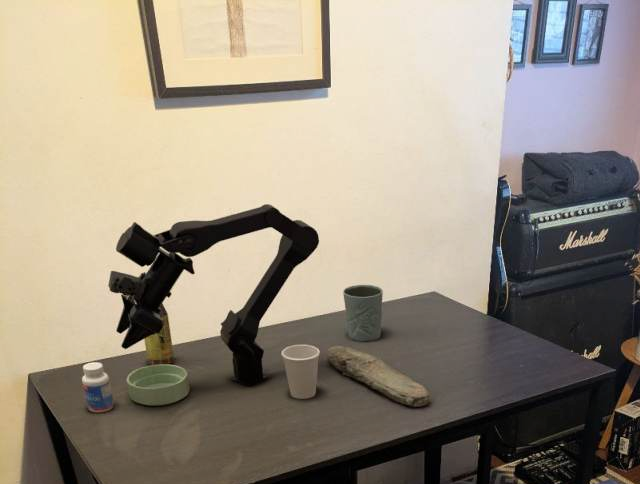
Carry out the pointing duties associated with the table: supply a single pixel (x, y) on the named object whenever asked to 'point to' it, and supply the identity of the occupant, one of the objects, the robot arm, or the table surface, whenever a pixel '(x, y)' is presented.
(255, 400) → the table surface
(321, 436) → the table surface
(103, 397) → the pill bottle
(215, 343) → the table surface
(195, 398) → the table surface
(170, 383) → the bowl
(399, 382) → the long grey stone
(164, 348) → the sauce bottle
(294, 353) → the dixie cup
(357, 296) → the green ceramic cup
